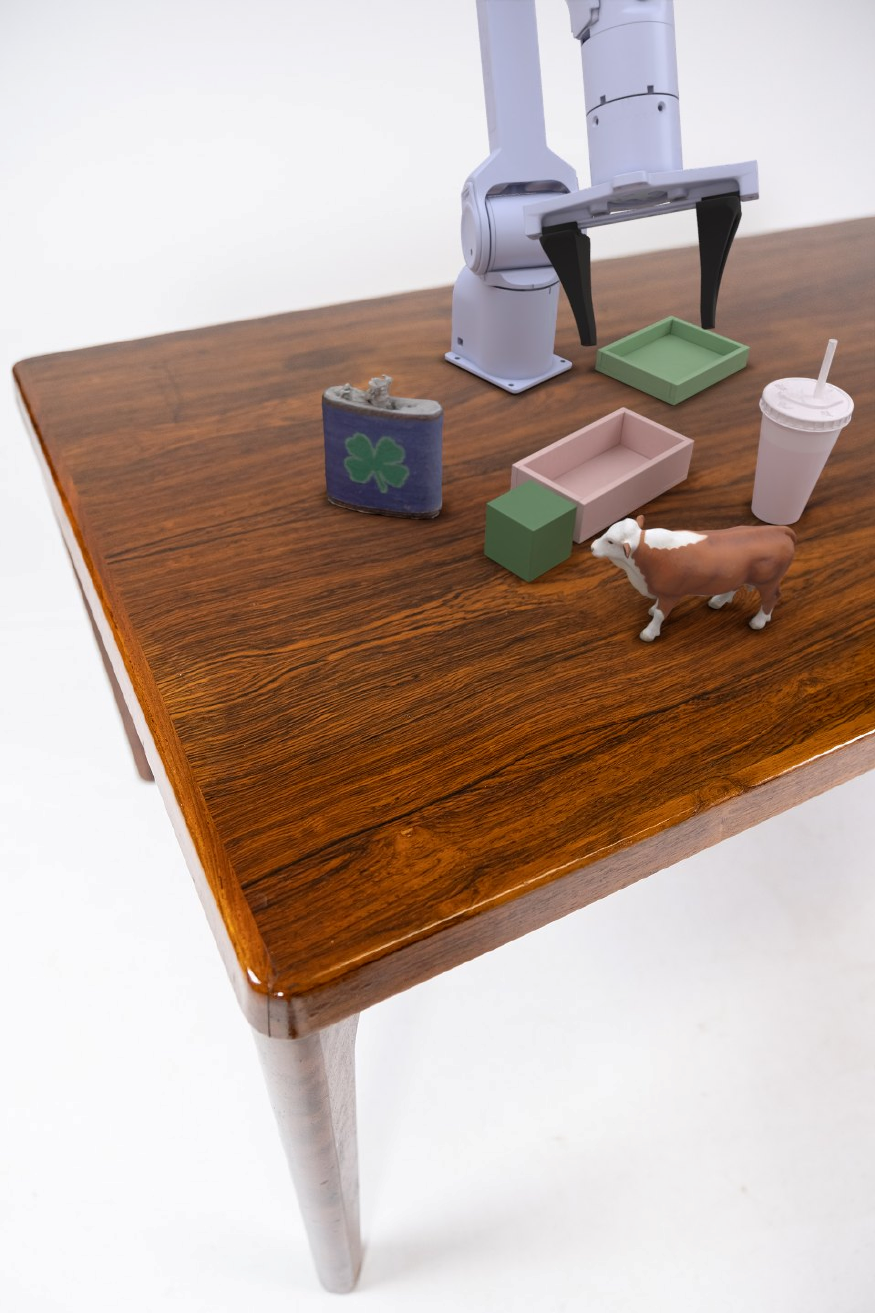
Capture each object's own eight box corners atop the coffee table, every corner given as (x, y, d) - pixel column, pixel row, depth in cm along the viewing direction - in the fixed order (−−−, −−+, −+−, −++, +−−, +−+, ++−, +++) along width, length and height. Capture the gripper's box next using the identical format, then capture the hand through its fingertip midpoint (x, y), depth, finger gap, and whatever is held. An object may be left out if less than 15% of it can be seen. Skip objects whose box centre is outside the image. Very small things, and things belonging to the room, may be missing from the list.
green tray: (594, 369, 95) (597, 349, 94) (667, 334, 101) (671, 315, 100) (673, 405, 90) (677, 385, 89) (745, 366, 96) (750, 346, 95)
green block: (483, 554, 74) (486, 502, 71) (525, 530, 76) (530, 479, 73) (528, 583, 71) (533, 530, 68) (570, 557, 74) (577, 505, 71)
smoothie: (821, 540, 76) (879, 366, 66) (733, 529, 77) (778, 356, 67) (815, 493, 80) (868, 324, 71) (733, 483, 81) (774, 315, 72)
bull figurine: (577, 604, 70) (591, 505, 64) (767, 595, 71) (796, 497, 65) (590, 646, 67) (605, 546, 61) (788, 637, 68) (821, 537, 62)
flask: (445, 504, 78) (447, 377, 71) (435, 525, 76) (436, 397, 69) (333, 485, 80) (324, 359, 73) (320, 505, 78) (309, 378, 71)
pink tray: (508, 503, 79) (511, 464, 76) (617, 443, 85) (623, 406, 83) (579, 544, 75) (584, 504, 73) (686, 478, 82) (695, 440, 79)
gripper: (503, 119, 62) (524, 349, 65) (751, 63, 57) (762, 314, 60) (530, 146, 68) (548, 354, 71) (755, 98, 63) (765, 323, 66)
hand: (647, 337), depth 66 cm, fingers open, 7 cm apart
